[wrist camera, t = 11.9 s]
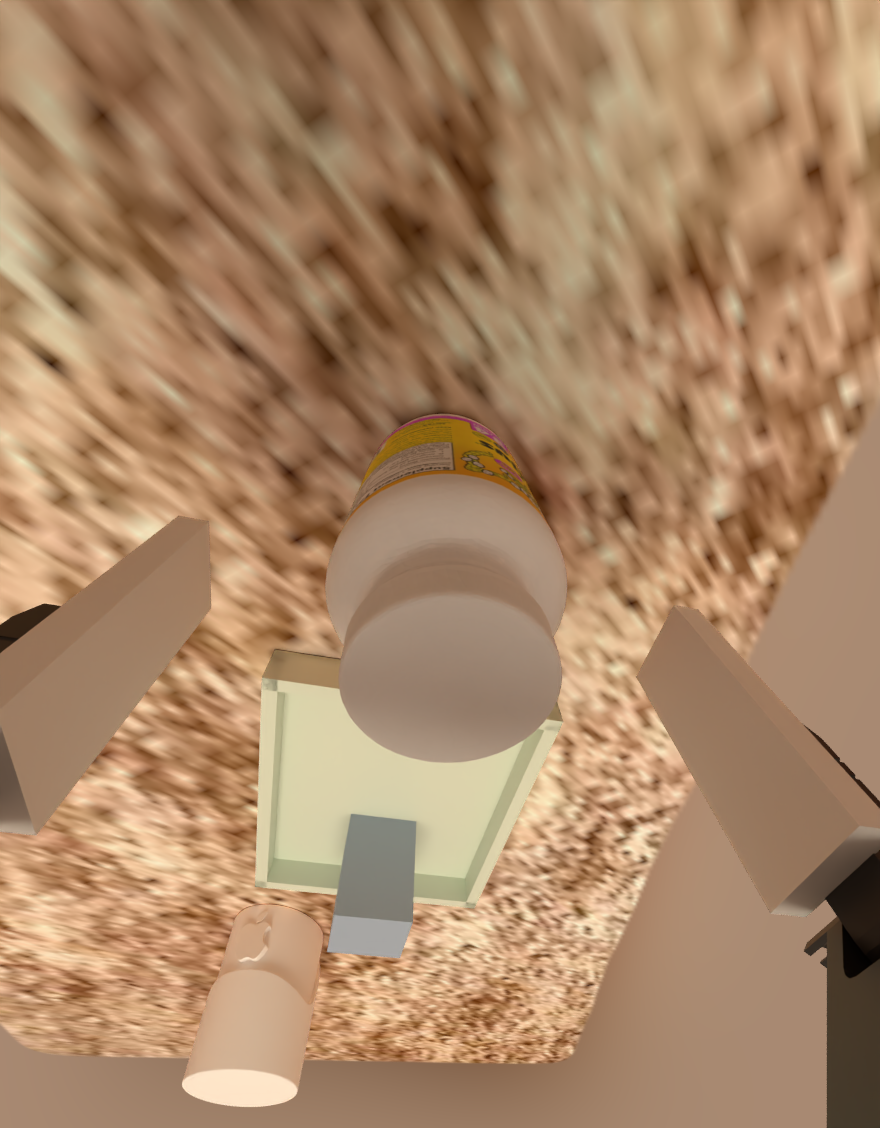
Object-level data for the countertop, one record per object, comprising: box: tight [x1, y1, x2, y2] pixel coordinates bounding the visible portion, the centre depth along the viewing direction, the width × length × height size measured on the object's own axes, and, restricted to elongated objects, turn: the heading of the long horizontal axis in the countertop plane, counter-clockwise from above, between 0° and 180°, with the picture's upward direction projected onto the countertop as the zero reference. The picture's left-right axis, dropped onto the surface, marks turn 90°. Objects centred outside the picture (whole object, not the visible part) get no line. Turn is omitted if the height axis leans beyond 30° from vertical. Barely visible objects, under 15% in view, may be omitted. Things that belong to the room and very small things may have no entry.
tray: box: [255, 649, 563, 908], centre depth 30 cm, size 20×16×2 cm
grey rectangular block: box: [327, 814, 416, 958], centre depth 30 cm, size 4×4×6 cm
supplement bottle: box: [325, 414, 567, 763], centre depth 15 cm, size 7×7×13 cm
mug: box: [182, 904, 323, 1107], centre depth 37 cm, size 12×9×8 cm
